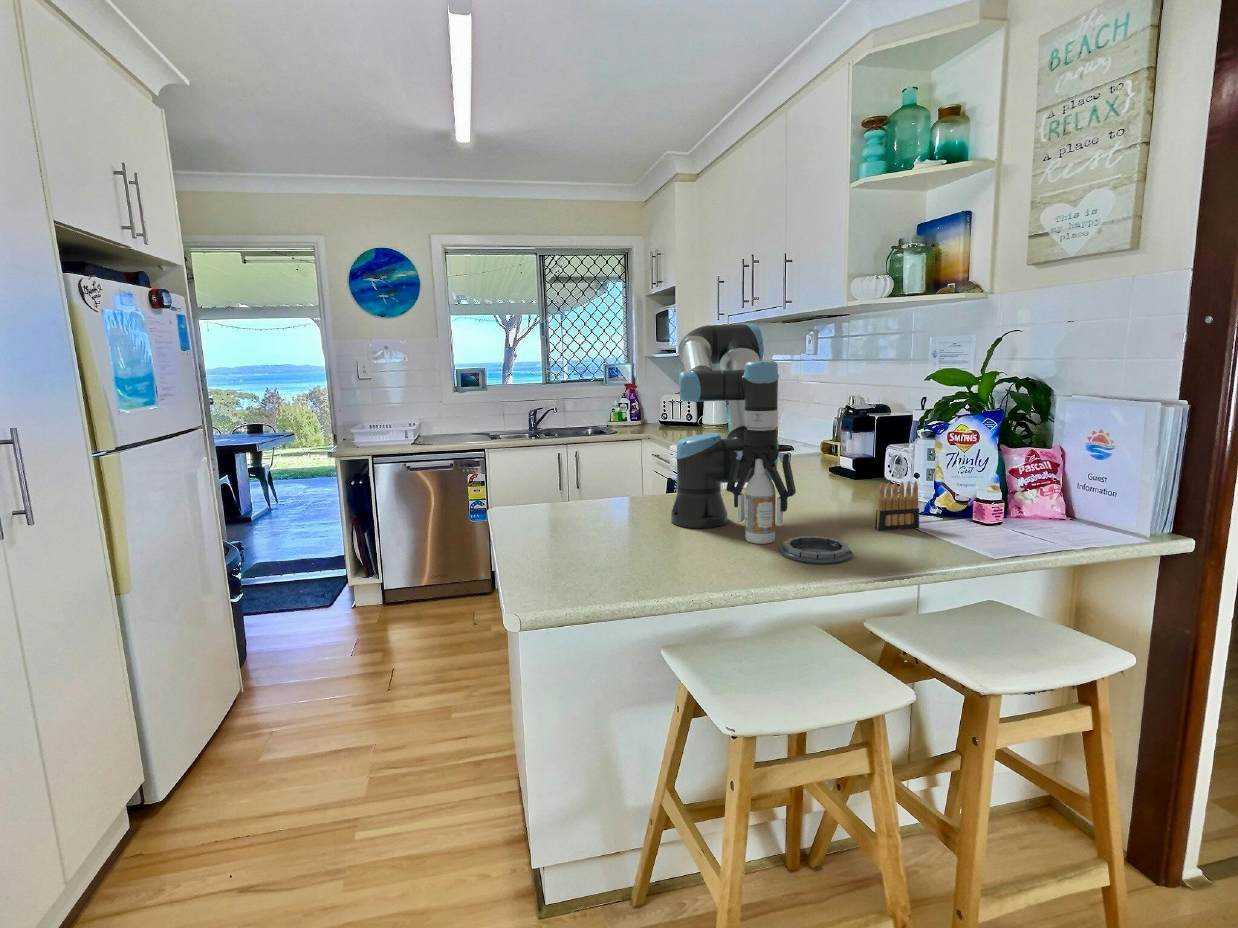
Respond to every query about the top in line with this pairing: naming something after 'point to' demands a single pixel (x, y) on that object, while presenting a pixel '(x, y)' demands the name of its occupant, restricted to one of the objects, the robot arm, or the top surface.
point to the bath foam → (760, 507)
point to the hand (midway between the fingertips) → (760, 522)
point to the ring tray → (816, 550)
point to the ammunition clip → (897, 508)
